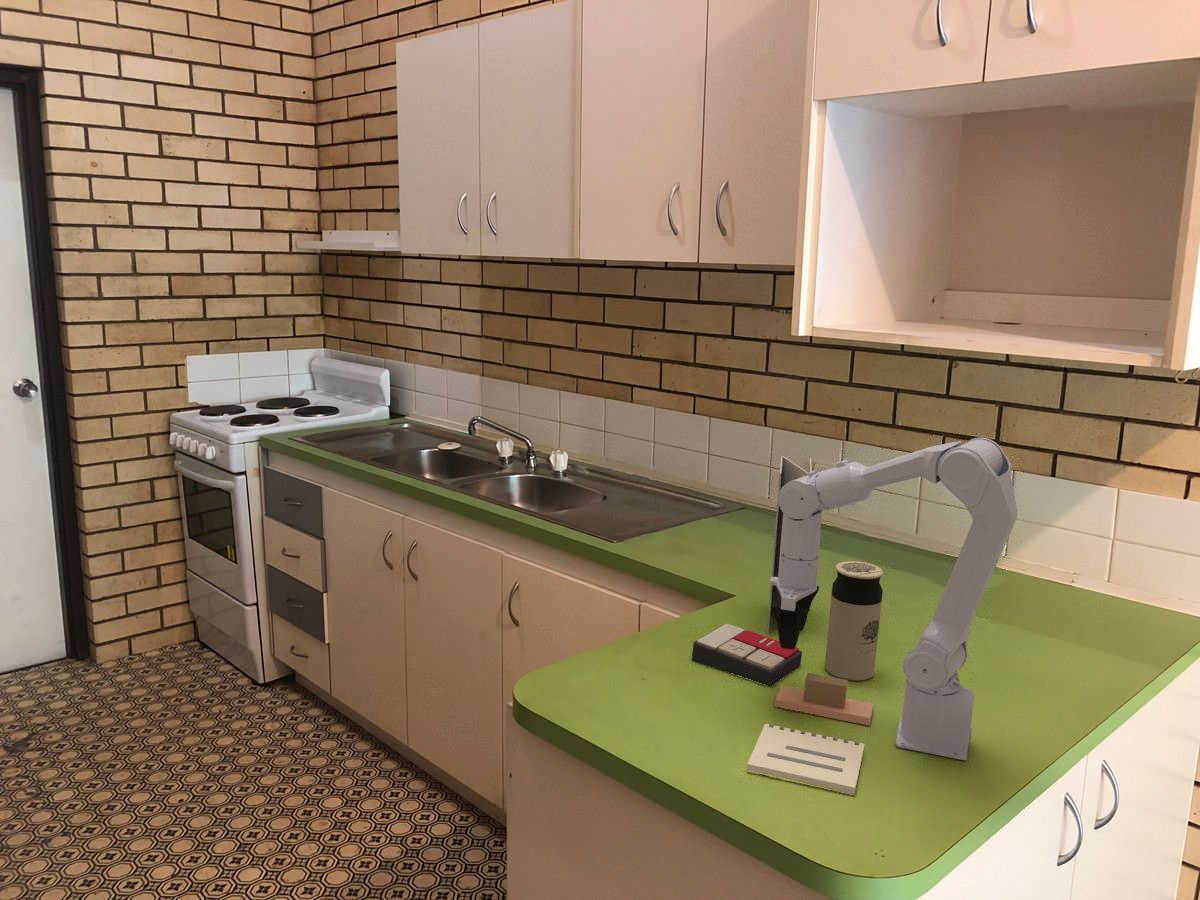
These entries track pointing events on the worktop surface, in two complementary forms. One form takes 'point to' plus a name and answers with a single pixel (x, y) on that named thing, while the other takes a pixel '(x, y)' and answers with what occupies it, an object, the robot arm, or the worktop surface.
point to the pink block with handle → (825, 700)
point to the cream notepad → (808, 758)
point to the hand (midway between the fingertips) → (791, 638)
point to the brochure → (786, 475)
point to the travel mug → (854, 621)
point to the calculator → (746, 654)
